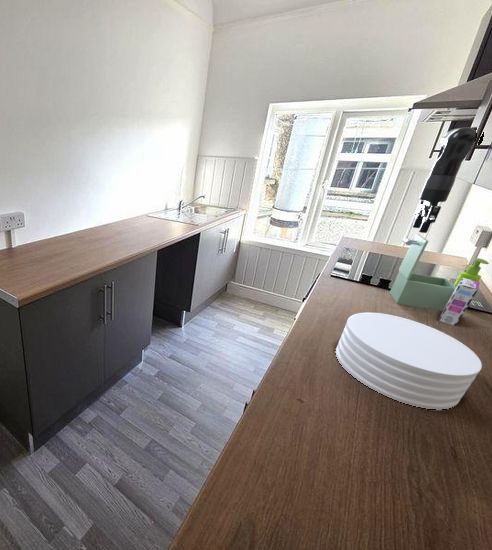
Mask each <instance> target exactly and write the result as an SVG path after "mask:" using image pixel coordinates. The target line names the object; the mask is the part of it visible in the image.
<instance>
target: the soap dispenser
mask: <svg viewBox="0 0 492 550" xmlns="http://www.w3.org/2000/svg"><path fill="white" fill-rule="evenodd" d="M473 260H474V262H473V264H469V265H468V267H467V269H466V270H465V271H460V273H459V274H458V275H457V278H456V280H455V282H454V283H453V285H454V286H455V287H457V285H458V284H459V282H460V280H461V279H462V278H466V279H470V280H474V281H478V282H480V280H481V278H482V276H481V275H480V274H479V273H480V271H481V269H482V267H481V266H480V265H481V264H483V265H489V264H490V263H489V261H487V260H486V259H483V258H481V257H473Z"/></svg>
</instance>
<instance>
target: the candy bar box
mask: <svg viewBox="0 0 492 550" xmlns="http://www.w3.org/2000/svg"><path fill="white" fill-rule="evenodd" d="M480 283H481V282H480V281H474V280H470V279H466V278H462V279H461V280H460V282H459V284H458V285H457V287H456V289H455V291H454V292H453V294H452V296H451V297H450V299H449V301H448V303H447V304H446V306H445V308H444V310H443V311H441V314H440V315H439V318H438V321H437V324H439V322H442V323H444V324H447V325H451V326H454V327H456V326H457V325H458V324H459V322H460V320H461V318H462V317H463V315H464V314H465V312H466V311H467V309H468V307H469V306H470V304H471V303H472V301H473V299H474V298H475V296H476V294H477V293H478V292H479V288H480Z"/></svg>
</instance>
